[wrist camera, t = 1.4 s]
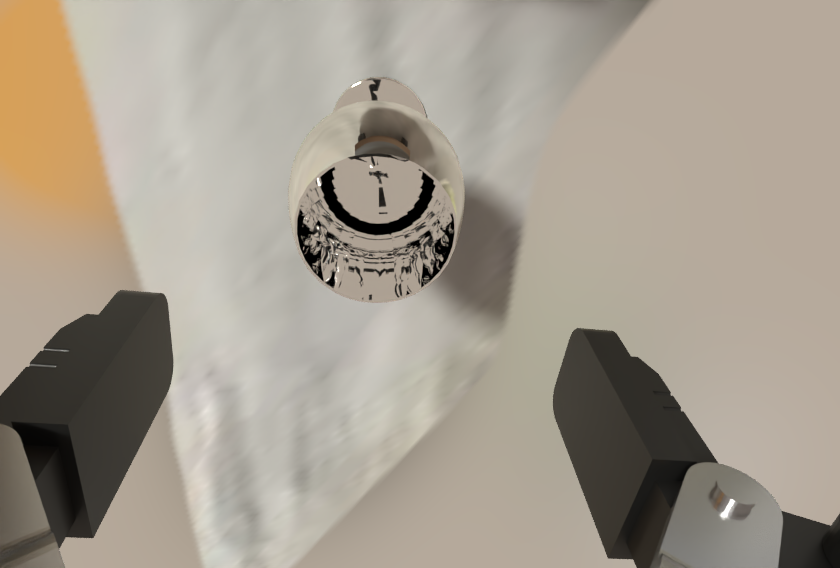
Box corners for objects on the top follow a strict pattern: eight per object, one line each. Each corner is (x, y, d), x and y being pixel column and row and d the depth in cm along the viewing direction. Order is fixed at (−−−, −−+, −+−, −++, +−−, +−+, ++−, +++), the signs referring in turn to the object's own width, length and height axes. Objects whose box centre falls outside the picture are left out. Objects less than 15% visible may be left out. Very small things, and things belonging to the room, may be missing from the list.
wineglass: (294, 143, 27) (237, 259, 16) (359, 33, 25) (341, 86, 14) (396, 206, 29) (404, 347, 18) (465, 110, 26) (518, 206, 16)
